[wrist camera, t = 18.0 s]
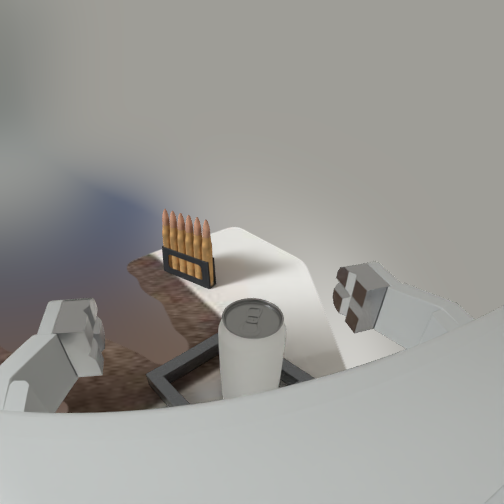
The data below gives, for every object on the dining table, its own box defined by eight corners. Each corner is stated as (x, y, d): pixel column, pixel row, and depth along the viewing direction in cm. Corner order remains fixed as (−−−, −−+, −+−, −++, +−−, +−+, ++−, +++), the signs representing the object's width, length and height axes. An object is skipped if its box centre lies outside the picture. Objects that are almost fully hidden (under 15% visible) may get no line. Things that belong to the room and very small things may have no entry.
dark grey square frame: (149, 384, 34) (145, 374, 33) (233, 333, 43) (233, 323, 42) (227, 464, 26) (226, 457, 25) (314, 389, 35) (316, 379, 34)
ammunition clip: (216, 284, 54) (214, 218, 48) (209, 289, 52) (207, 223, 47) (170, 266, 58) (164, 206, 52) (163, 270, 57) (157, 209, 51)
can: (216, 410, 32) (209, 335, 26) (228, 368, 37) (225, 291, 32) (274, 418, 31) (285, 345, 25) (280, 375, 37) (290, 299, 31)
